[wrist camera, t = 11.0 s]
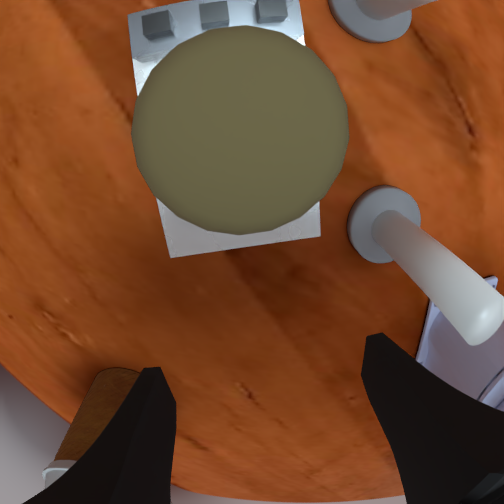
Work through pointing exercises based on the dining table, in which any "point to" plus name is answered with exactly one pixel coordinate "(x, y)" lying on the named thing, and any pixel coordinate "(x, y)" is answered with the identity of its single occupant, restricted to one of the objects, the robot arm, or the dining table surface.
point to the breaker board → (216, 240)
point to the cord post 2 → (424, 261)
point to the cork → (240, 130)
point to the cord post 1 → (374, 17)
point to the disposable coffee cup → (91, 419)
